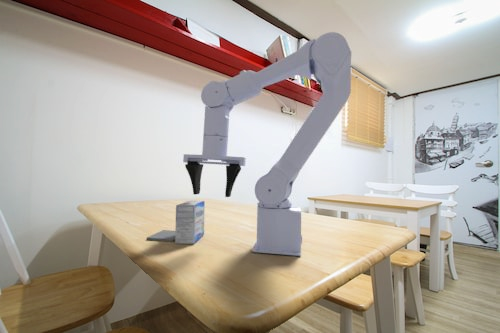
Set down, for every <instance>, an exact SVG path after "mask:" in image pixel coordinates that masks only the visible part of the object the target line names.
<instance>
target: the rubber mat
mask: <svg viewBox="0 0 500 333" xmlns="http://www.w3.org/2000/svg"><path fill="white" fill-rule="evenodd" d="M146 240H147V241H157V242H170V243H171V242H172V243H173V242H175V230H168V229H166V230H165V229H162V230H161V231H159V232H156V233H153V234H151V235H149V236H147V237H146Z"/></svg>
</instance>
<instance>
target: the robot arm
mask: <svg viewBox="0 0 500 333" xmlns="http://www.w3.org/2000/svg"><path fill="white" fill-rule="evenodd" d="M351 63H352V50H351V48H350V46H349V44H348V42H347V39H346V37H344V36H343V35H342V34H341V33H339V32H335V31H330V32H326V33H324V34H321V35H320V36H319V37H318V38H313V39H310V40H308V41H307V42H306V43H305V44H303V45H302V46H301V47H300V48H299V49H297V50H295V51H294V52H293V53H290V54H287V56H285V57H283V58H281V59H279V60H278V61H276V62H274V63H272V64H269V65H267V66H266V67H264V68H263V69H260V70H259V71H257V72H256V71H254V70H250V69H248V70H245V69H243V70H241V71H239V74H237V75H235V76H233V77H231V78H228V79H227V80H225V79H223V80H222V81H221V82H219V81H216V80H212V81H210V82H208V83H207V84H206V85H205V86H203V88H202V90H201V94H200V97H201V101H202V104H204V118H203V121H204V122H203V134H202V135H203V139H202V151H201V152H202V153H201V154H189V153H188V154H183V159H182V161H183V163H185V164H184V165H185V166H184V167H185V169H186V171H187V173H188V176H189V178H190V181H191V186H192V192H193V194H192V195H199V194H200V192H201V181H202V180H201V178H202V173H203V168H204V164H206V165H207V164H208V165H221V166H222V165H225V167H226V169H225V170H226V174H225V175H226V183H225V184H226V185H225V196H224V197H225V198H230V197H231V196H232V191H233V187H234V184H235V182H236V180H237V177H238V176H239V173H240V172H241V170H242V167H245V166H246V159H247V158H246V157H243V156H228V144H229V143H228V142H229V139H228V138H229V127H230V126H229V125H230V112H231V111H232V110H233V108H234V107H235V106H237V105H239V104H241V103H243V102H245V101H249V100H250V99H253V98H255V97H258V96H259V95H260V94H261V92H262V90H263V88H265V87H268V86H271V85H273V84H276V83H279V82H282V81H285V80H287V79H290V78H293V77H295V76H299V77H302V78H304V79H307V80H310V81H311V80H312V75H313V77H314V79H315V80H316V82H317V83H318V84H319V85H320V87H321V90H322V95H321V96H320V97H319V99H318V101H317V102H316V104H315V105H314V107H313V108H312V110H311V111H310V113H309V115H308V116H307V118H306V119H305V121H304V122H303V124H302V125H301V127H300V129H299V130H298V131H297V133H296V134H295V136H294V137H293V139H292V140H291V142H290V144H289V145H288V146H287V148H286V149H285V151H284V153H283V154H282V155H281V157H280V158H279V160H277V161H276V162H275V164H274V165H273V166H271V168H270V170H269V171H268V172H267V173H266V174H264V175H262V176H261V177H259V178H258V179H257V181H256V182H255V184H254V186H255V187H254V194H255V197H256V199H257V201H258V202H257V208H256V209H257V210H256V241H255V242H254V245H253V247H252V251H251V252H252V253H259V254H272V255H273V254H274V255H284V256H285V255H286V256H298V257H300V256H302V253H301V252H302V244H303V234H302V209H301V208H302V207H298V206H292V203H291V201H290V199H288V198H289V197H290V195H291V193H292V191H293V184H294V183H295V180H296V179H297V177H298V176H299V173H300V172H301V170H302V169H303V168H304V167H305V164H306V163H307V161H308V160H309V158H310V157H311V155H312V154H313V152H314V151H315V149H316V148H317V146H318V145H319V143H320V142H321V140H322V139H323V137H324V136H325V134H326V133H327V131H328V130H329V128H330V127H331V126H332V125H333V122H334V121H335V119H337V117H338V115H339V114H340V113H341V112H342V110H343V108H344V107H345V105H346V103H347V102H348V100H349V98H350V96H351V91H352V89H351V88H352V87H351V84H352V83H351V82H352V81H351V80H352V78H351V75H352V73H351V71H352V68H351V65H352V64H351ZM208 160H211V161H208ZM212 160H213V161H212ZM220 161H221V162H220Z"/></svg>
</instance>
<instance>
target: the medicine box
mask: <svg viewBox="0 0 500 333" xmlns="http://www.w3.org/2000/svg"><path fill="white" fill-rule="evenodd" d="M205 208H206V207H205V201H204V200H188V201H185V202H182V203H180V204H176V205H175V229H174V231H175V241H174V242H175V244H177V245H179V244H181V245H195V244H196V243H197V242H198V241H199V240H200V239H201V238H202V237H203V236H204V235H205Z"/></svg>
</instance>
